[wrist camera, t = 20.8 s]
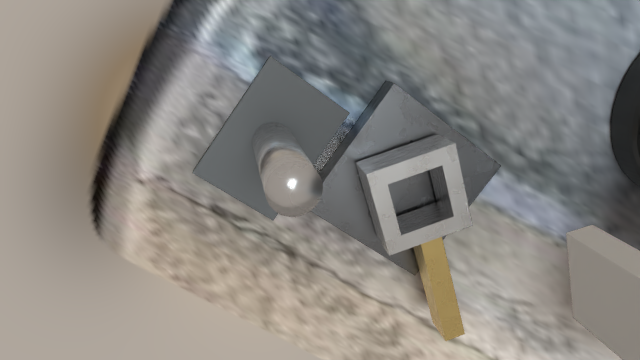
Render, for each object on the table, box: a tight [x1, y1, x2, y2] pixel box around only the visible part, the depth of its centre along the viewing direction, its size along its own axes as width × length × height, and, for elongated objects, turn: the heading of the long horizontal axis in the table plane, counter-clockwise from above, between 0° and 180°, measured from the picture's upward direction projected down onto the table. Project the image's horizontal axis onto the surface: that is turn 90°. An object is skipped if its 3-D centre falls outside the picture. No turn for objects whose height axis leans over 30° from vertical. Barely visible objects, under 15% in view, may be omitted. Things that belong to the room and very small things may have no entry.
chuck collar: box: [356, 134, 473, 341], centre depth 36 cm, size 15×6×3 cm, turn 17°
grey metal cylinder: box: [252, 122, 323, 217], centre depth 30 cm, size 3×3×11 cm
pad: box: [193, 56, 349, 220], centre depth 35 cm, size 10×7×1 cm
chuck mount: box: [311, 81, 501, 275], centre depth 37 cm, size 11×11×2 cm
